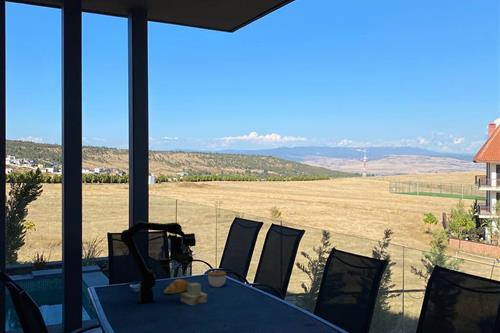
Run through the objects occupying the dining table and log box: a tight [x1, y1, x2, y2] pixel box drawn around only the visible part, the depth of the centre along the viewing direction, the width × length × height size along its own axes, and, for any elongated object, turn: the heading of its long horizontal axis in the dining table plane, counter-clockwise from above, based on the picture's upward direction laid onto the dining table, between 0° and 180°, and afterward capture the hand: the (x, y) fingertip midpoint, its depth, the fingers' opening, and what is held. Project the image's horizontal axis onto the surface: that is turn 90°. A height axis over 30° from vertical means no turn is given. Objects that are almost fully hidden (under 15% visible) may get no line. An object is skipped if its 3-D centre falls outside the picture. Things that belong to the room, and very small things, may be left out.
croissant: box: [163, 278, 193, 295], centre depth 262 cm, size 21×10×8 cm, turn 145°
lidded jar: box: [207, 269, 227, 288], centre depth 274 cm, size 11×11×9 cm
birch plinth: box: [180, 291, 208, 306], centre depth 241 cm, size 10×10×4 cm
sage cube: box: [186, 282, 202, 296], centre depth 241 cm, size 5×5×5 cm
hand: (175, 276), depth 244 cm, fingers open, 9 cm apart
